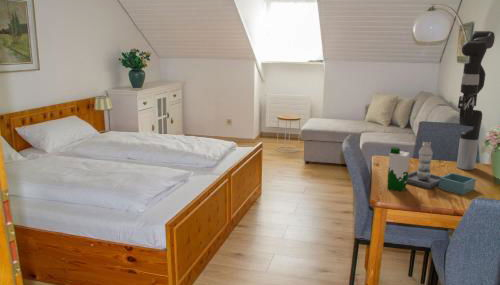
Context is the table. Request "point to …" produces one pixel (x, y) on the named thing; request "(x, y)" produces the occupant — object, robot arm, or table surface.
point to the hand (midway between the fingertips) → (465, 116)
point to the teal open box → (457, 183)
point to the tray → (423, 183)
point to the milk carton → (398, 169)
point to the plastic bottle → (425, 161)
